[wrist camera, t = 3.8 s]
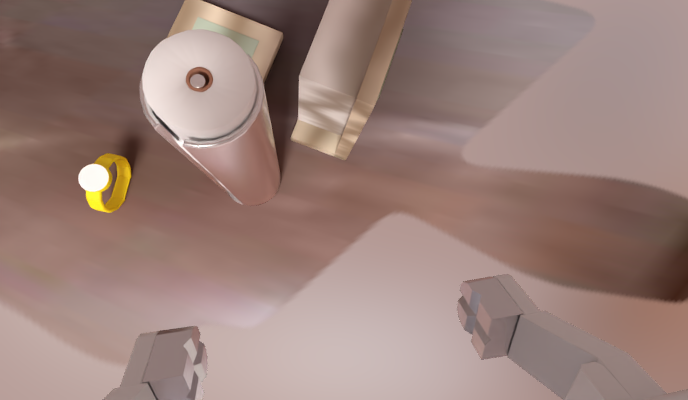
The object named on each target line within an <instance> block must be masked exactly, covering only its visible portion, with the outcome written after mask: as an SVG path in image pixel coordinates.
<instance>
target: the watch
mask: <svg viewBox="0 0 688 400" xmlns="http://www.w3.org/2000/svg"><path fill="white" fill-rule="evenodd" d="M113 162H115V163H116V165H117V174H118V176H117V179H116V183H115V186H114V189H113V193H112V196H111V198H110V199H109V200H108V202H107V203H106V204H105V205H104V203H103V201H102V192H103V191H104V190H106V189H107V188H108V187H109V186H110V185H111V182H112V174H111V172H110V170H109V167H110V166H111V164H112V163H113ZM130 179H131V167H130V165H129V163H128V161H127V159H126V158H125V157H122V156H119V155H114V154H109V153H108V154H105V155H102V156H100V157H99V158H98V159H97V160H96V161H95V163H94V164H90V165H87V166H86V167H84V168H83V169H82V170H81V172H80V174H79V178H78V180H79V184H80V185H81V187H82V188H84V189H85V190H86V198H87V201H88V203H89V205H90V207H91V208H93V209H95V210H98V211H103V212H109V213H111V212H113V211H115V210H117V209H118V208H119V207H120V206H121V205H122V203H123V202H124V200H125V196H126V193H127V189H128V186H129V182H130Z"/></svg>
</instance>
